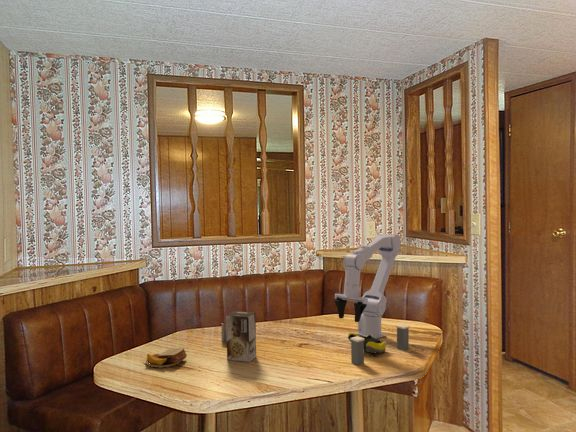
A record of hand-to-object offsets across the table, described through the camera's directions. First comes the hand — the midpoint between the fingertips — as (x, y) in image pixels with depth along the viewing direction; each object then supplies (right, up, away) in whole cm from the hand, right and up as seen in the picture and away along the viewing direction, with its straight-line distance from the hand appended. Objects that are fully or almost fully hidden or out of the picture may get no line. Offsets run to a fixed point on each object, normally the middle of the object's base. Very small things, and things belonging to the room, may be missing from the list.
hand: (348, 320), depth 168 cm
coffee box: (-40, -11, -13) cm, 44 cm away
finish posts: (+10, -10, -12) cm, 18 cm away
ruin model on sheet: (-45, -11, +9) cm, 47 cm away
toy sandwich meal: (-66, -12, -16) cm, 69 cm away
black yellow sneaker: (+6, -10, -6) cm, 13 cm away
